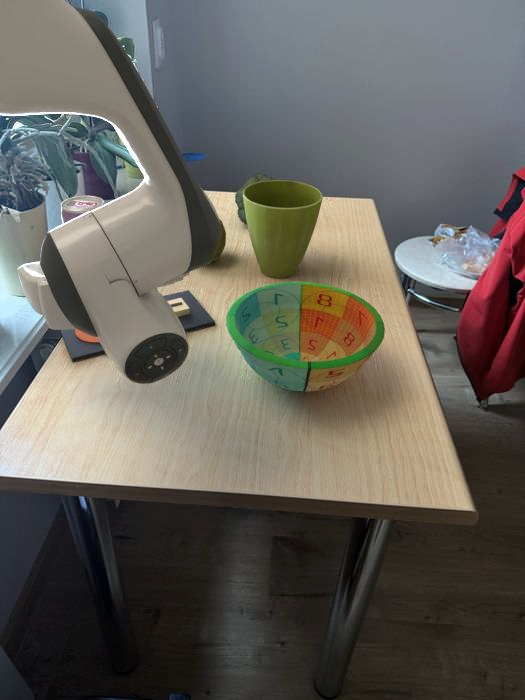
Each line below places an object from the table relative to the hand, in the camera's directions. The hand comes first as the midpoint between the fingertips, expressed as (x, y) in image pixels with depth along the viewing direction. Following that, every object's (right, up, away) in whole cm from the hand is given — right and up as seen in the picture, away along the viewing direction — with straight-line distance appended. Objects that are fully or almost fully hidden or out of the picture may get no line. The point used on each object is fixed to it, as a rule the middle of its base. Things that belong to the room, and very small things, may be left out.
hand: (89, 248), depth 75 cm
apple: (+12, +4, +36) cm, 38 cm away
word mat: (+3, -10, +15) cm, 18 cm away
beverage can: (0, -7, +4) cm, 8 cm away
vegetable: (+24, +17, +53) cm, 60 cm away
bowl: (+30, -18, +6) cm, 36 cm away
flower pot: (+28, +2, +33) cm, 43 cm away
